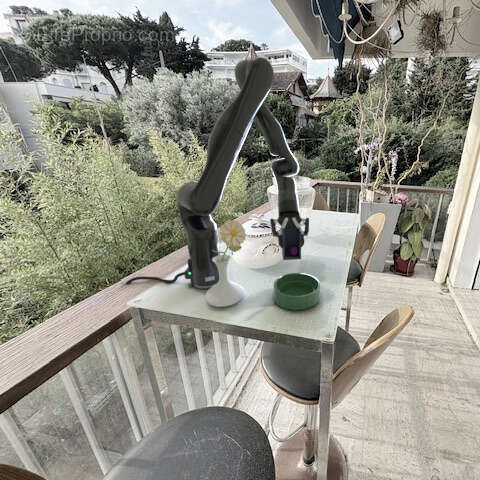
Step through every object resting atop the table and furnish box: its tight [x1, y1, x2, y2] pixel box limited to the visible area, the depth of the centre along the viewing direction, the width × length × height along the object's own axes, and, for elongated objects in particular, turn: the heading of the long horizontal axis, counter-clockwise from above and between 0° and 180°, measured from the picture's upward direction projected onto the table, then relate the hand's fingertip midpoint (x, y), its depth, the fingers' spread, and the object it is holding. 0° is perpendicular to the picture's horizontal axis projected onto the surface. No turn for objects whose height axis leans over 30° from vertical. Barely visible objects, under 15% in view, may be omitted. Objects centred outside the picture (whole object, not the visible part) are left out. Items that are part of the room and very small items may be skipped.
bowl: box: [273, 272, 321, 311], centre depth 82 cm, size 14×14×5 cm
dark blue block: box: [281, 227, 302, 261], centre depth 91 cm, size 6×6×10 cm
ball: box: [289, 246, 299, 256], centre depth 92 cm, size 3×3×3 cm
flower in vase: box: [204, 219, 247, 308], centre depth 77 cm, size 13×11×25 cm
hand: (291, 246), depth 90 cm, fingers closed on dark blue block, 6 cm apart
